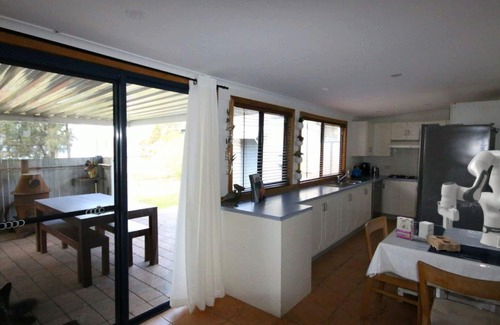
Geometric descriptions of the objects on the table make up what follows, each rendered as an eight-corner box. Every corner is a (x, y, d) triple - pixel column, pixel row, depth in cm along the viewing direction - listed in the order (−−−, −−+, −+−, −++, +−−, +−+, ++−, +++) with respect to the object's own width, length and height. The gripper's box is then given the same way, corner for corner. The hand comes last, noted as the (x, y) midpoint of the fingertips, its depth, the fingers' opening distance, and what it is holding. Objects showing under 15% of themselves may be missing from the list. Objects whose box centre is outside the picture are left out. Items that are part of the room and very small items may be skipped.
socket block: (445, 242, 203) (446, 235, 202) (459, 251, 185) (460, 244, 185) (425, 241, 205) (426, 234, 205) (438, 250, 188) (438, 243, 187)
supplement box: (427, 239, 209) (428, 224, 208) (418, 236, 215) (418, 221, 215) (433, 238, 211) (434, 223, 211) (424, 235, 218) (425, 220, 217)
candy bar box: (413, 239, 210) (414, 219, 209) (410, 240, 207) (411, 220, 206) (398, 235, 219) (399, 216, 218) (396, 236, 216) (396, 217, 215)
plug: (449, 227, 192) (449, 214, 191) (452, 229, 188) (452, 216, 187) (442, 227, 192) (443, 214, 192) (446, 229, 188) (446, 215, 188)
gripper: (462, 208, 178) (461, 228, 179) (445, 201, 198) (445, 219, 199) (451, 207, 179) (451, 227, 180) (436, 201, 199) (435, 219, 200)
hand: (447, 223), depth 190 cm, fingers closed on plug, 4 cm apart
